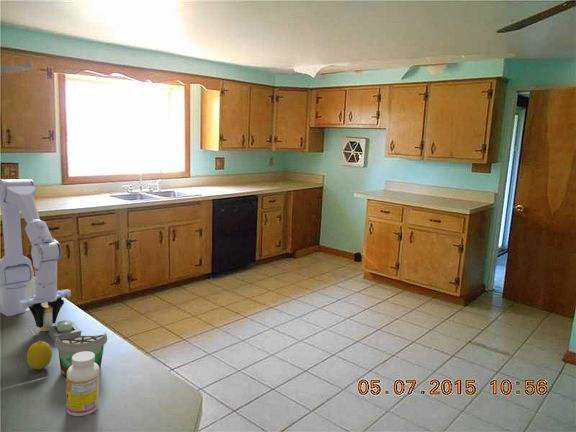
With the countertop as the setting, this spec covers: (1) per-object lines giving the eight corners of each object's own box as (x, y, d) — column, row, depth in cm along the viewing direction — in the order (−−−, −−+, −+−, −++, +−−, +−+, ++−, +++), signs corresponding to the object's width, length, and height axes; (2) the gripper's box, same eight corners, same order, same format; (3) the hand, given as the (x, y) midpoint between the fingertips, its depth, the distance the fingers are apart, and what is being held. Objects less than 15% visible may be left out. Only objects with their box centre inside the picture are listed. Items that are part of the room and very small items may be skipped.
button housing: (48, 334, 129) (48, 326, 129) (73, 329, 134) (73, 322, 133) (55, 343, 124) (55, 336, 123) (80, 338, 129) (81, 330, 128)
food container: (54, 386, 105) (54, 347, 103) (54, 373, 110) (54, 336, 108) (108, 377, 111) (109, 341, 109) (106, 365, 116) (107, 331, 114)
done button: (55, 330, 129) (55, 322, 128) (70, 327, 131) (70, 319, 131) (59, 335, 126) (59, 327, 125) (74, 332, 128) (74, 324, 128)
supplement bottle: (73, 399, 101) (74, 348, 98) (102, 400, 101) (104, 349, 99) (60, 417, 94) (61, 362, 92) (92, 418, 95) (93, 364, 93)
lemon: (56, 366, 113) (56, 337, 112) (42, 377, 108) (42, 347, 107) (36, 363, 114) (36, 334, 112) (21, 374, 108) (21, 344, 107)
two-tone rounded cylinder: (36, 329, 130) (37, 307, 129) (48, 325, 133) (48, 304, 132) (43, 332, 129) (43, 310, 128) (55, 329, 132) (55, 307, 131)
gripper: (29, 291, 120) (29, 336, 123) (77, 279, 133) (76, 320, 135) (15, 284, 124) (15, 329, 126) (63, 274, 136) (62, 314, 139)
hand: (45, 324), depth 131 cm, fingers closed on two-tone rounded cylinder, 3 cm apart
